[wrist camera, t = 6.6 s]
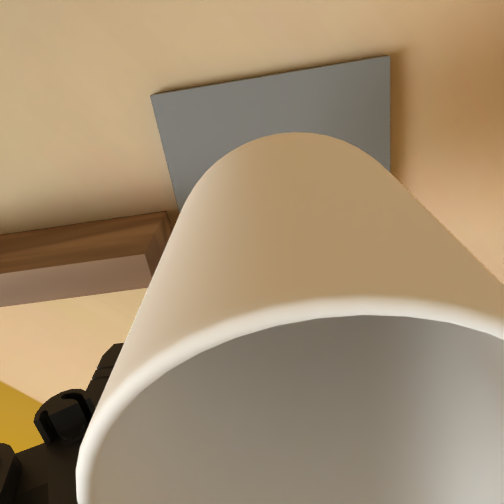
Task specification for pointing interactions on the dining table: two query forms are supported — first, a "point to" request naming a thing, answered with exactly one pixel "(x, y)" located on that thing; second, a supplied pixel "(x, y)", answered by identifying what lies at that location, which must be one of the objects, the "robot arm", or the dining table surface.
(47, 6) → the dining table surface
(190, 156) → the coaster
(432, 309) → the mug
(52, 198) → the dining table surface
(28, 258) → the frame
